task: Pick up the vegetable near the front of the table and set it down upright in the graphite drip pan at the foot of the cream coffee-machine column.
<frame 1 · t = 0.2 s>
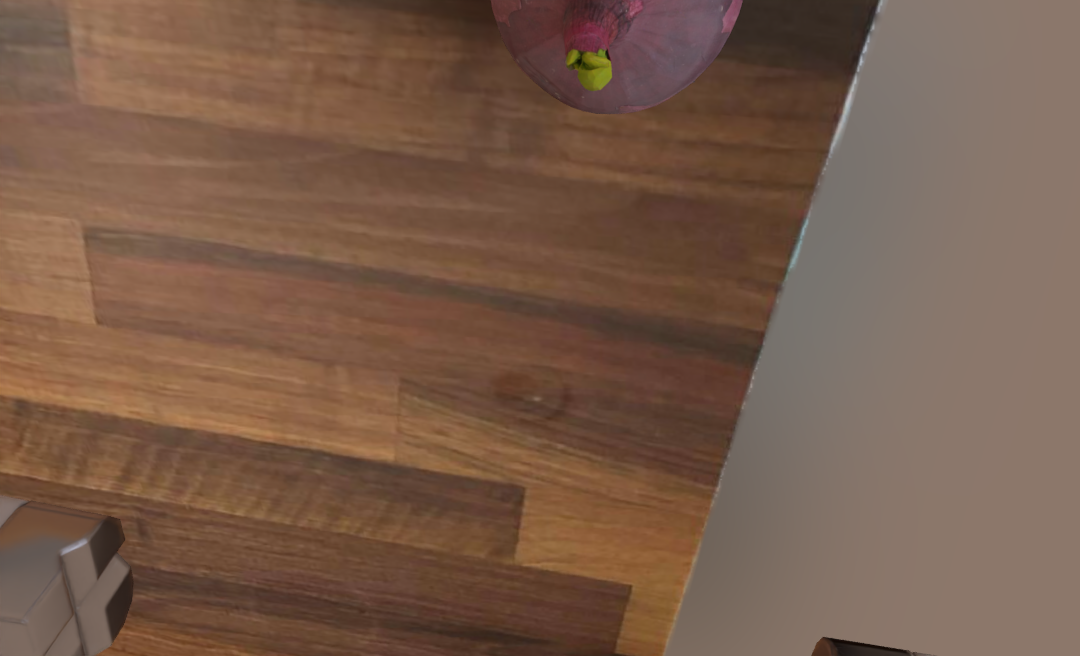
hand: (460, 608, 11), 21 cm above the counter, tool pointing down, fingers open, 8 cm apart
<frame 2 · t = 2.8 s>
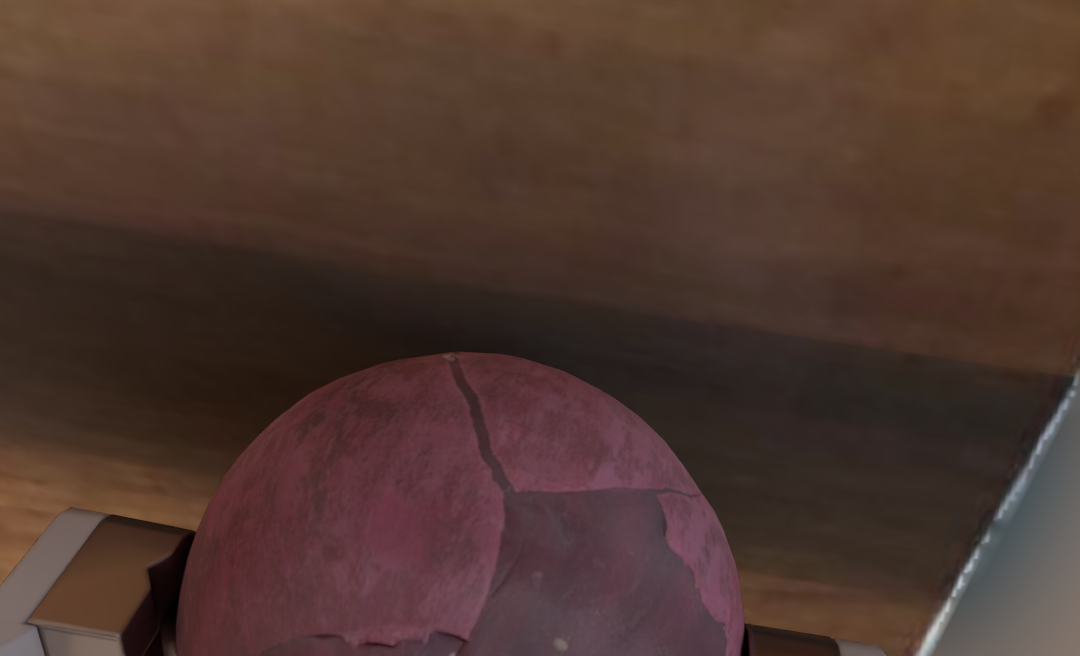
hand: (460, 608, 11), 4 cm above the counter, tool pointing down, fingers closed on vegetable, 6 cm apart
vegetable: (512, 403, 14), on the counter, touching gripper
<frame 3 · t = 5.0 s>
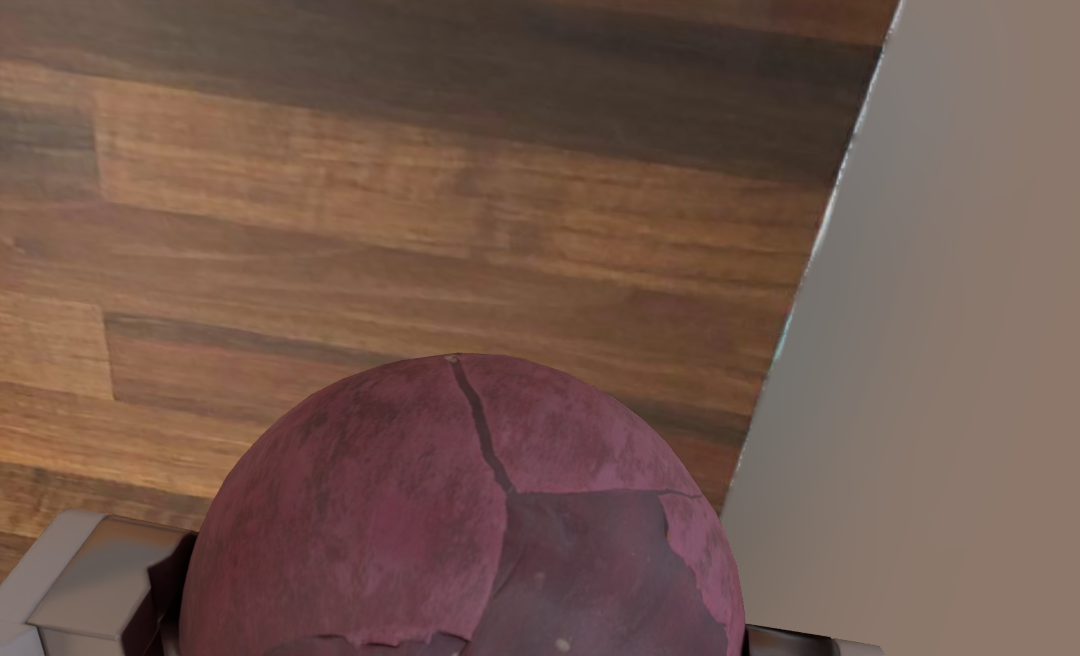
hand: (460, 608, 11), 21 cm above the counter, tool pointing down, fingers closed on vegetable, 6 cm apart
vegetable: (513, 404, 14), point 17 cm above the counter, touching gripper
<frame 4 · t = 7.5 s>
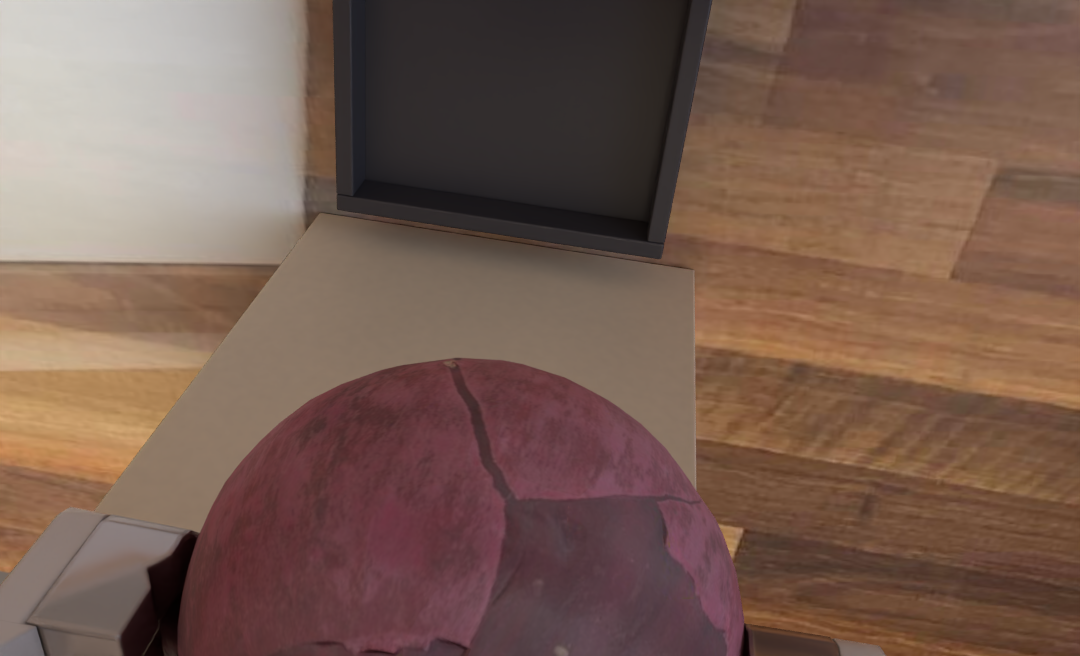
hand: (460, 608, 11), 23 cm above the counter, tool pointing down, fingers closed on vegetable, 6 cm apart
machine column: (496, 330, 37), on the counter
vegetable: (512, 408, 14), point 19 cm above the counter, touching gripper
drip pan: (522, 51, 31), on the counter
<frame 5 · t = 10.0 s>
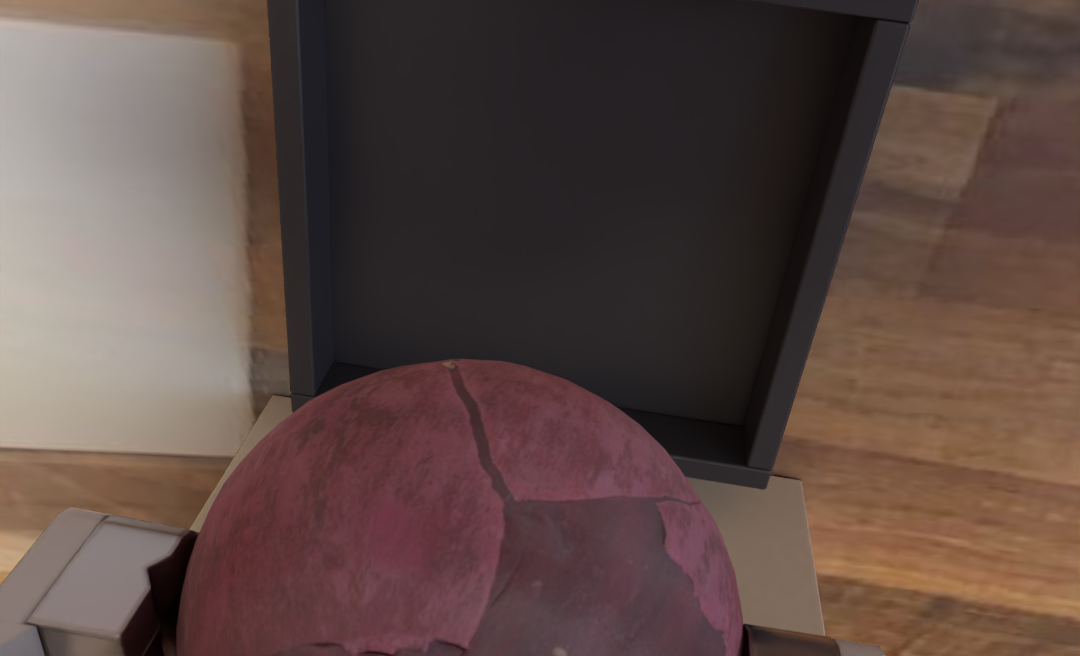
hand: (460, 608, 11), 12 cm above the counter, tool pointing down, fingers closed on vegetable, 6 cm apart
machine column: (519, 544, 27), on the counter
vegetable: (512, 409, 14), point 8 cm above the counter, touching gripper
drip pan: (562, 191, 21), on the counter
when the fingers open (4 cm above the counter, at t = 12.2 s): vegetable stays where it is, resting on drip pan.
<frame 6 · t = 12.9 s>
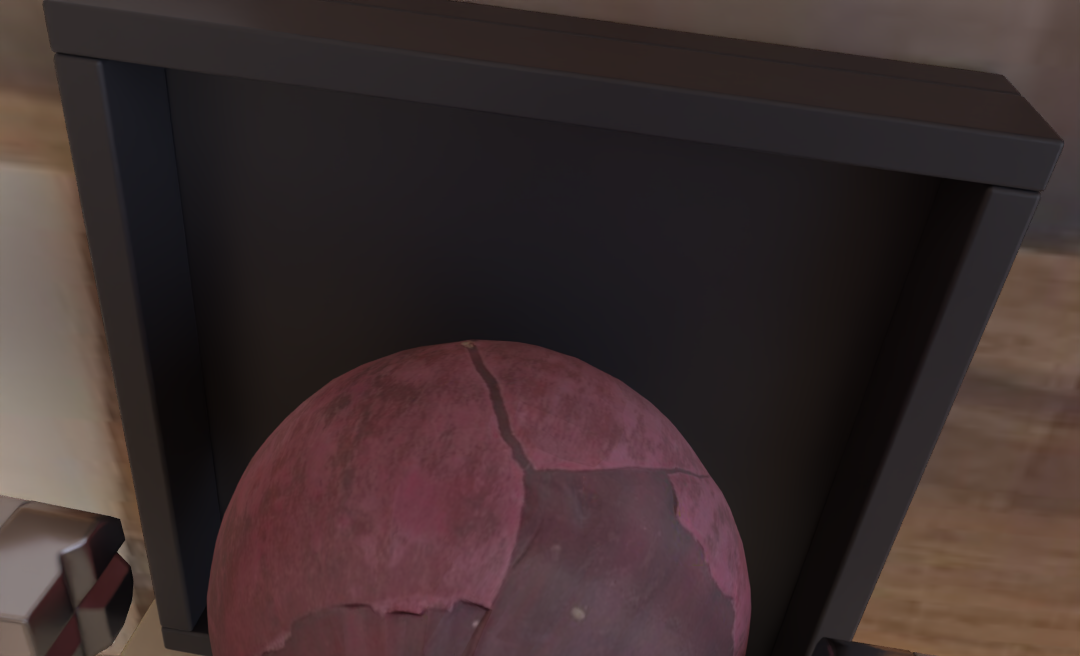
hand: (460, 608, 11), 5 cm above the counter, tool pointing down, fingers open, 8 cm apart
vegetable: (524, 392, 15), point 1 cm above the counter, touching drip pan
drip pan: (523, 368, 15), on the counter
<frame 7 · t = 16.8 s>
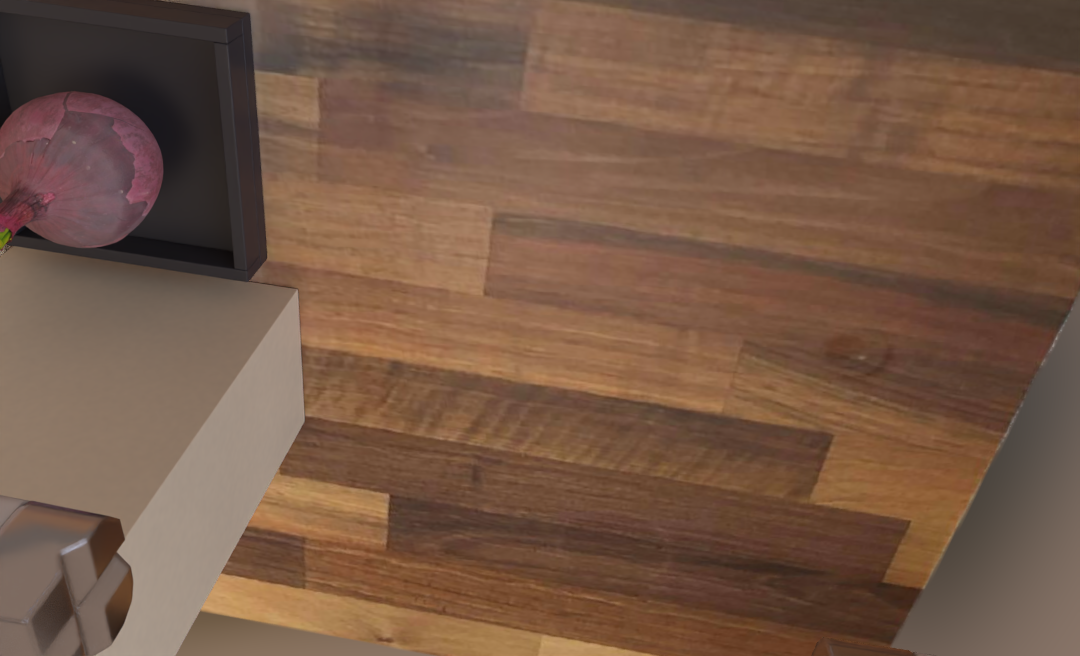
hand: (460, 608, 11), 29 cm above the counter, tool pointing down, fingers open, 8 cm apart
machine column: (165, 336, 47), on the counter
vegetable: (129, 132, 40), point 1 cm above the counter, touching drip pan
drip pan: (134, 126, 41), on the counter
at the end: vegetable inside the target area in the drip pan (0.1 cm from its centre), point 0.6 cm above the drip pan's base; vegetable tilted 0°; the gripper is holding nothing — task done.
